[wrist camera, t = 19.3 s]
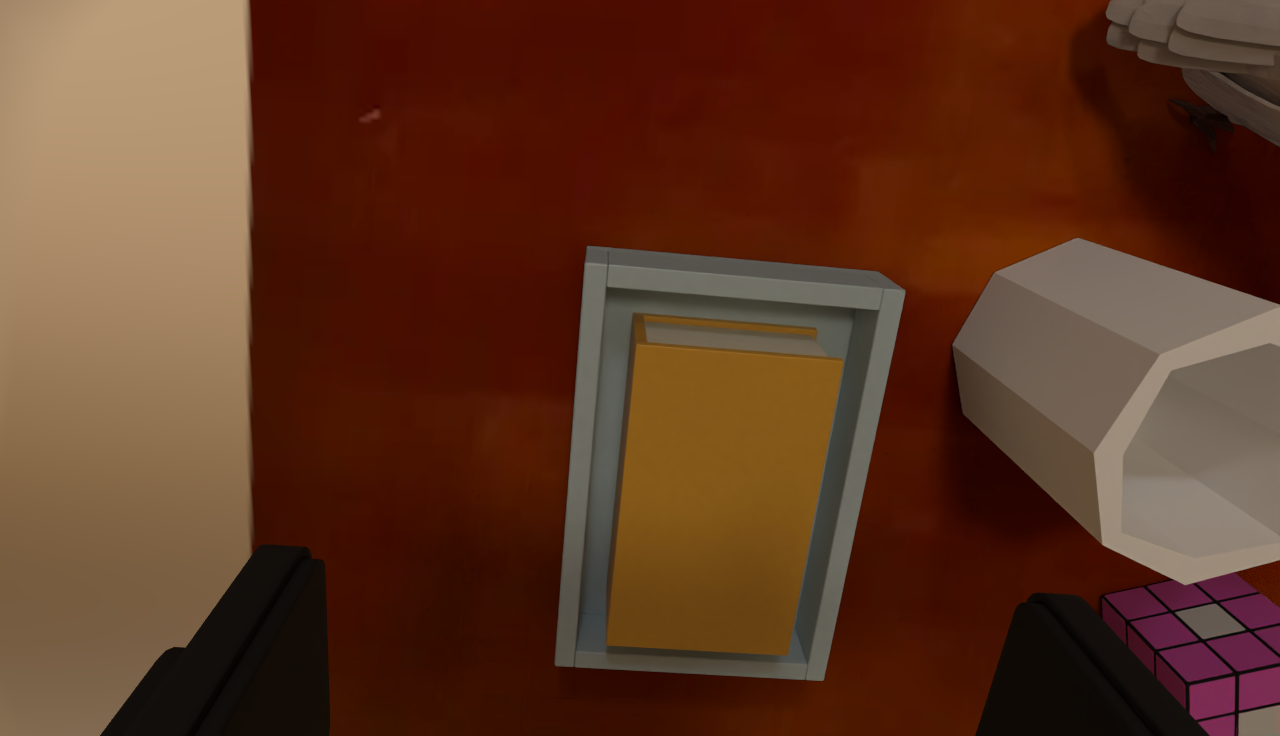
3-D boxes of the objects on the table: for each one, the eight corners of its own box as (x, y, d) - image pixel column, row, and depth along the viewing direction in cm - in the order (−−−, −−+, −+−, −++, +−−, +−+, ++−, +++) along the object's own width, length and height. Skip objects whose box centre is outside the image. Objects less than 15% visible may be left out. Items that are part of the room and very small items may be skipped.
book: (632, 311, 30) (636, 344, 26) (815, 327, 31) (844, 361, 27) (606, 584, 34) (605, 646, 30) (768, 593, 35) (788, 656, 31)
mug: (931, 440, 33) (1057, 579, 24) (976, 230, 30) (1138, 296, 21) (1212, 454, 34) (1439, 596, 24) (1281, 251, 31) (1569, 324, 22)
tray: (558, 619, 35) (554, 666, 32) (587, 245, 30) (584, 262, 27) (807, 634, 36) (823, 681, 33) (879, 271, 31) (906, 290, 28)
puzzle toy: (1227, 668, 37) (1331, 765, 32) (1105, 694, 38) (1187, 795, 32) (1228, 566, 36) (1339, 652, 30) (1100, 594, 36) (1186, 684, 30)
